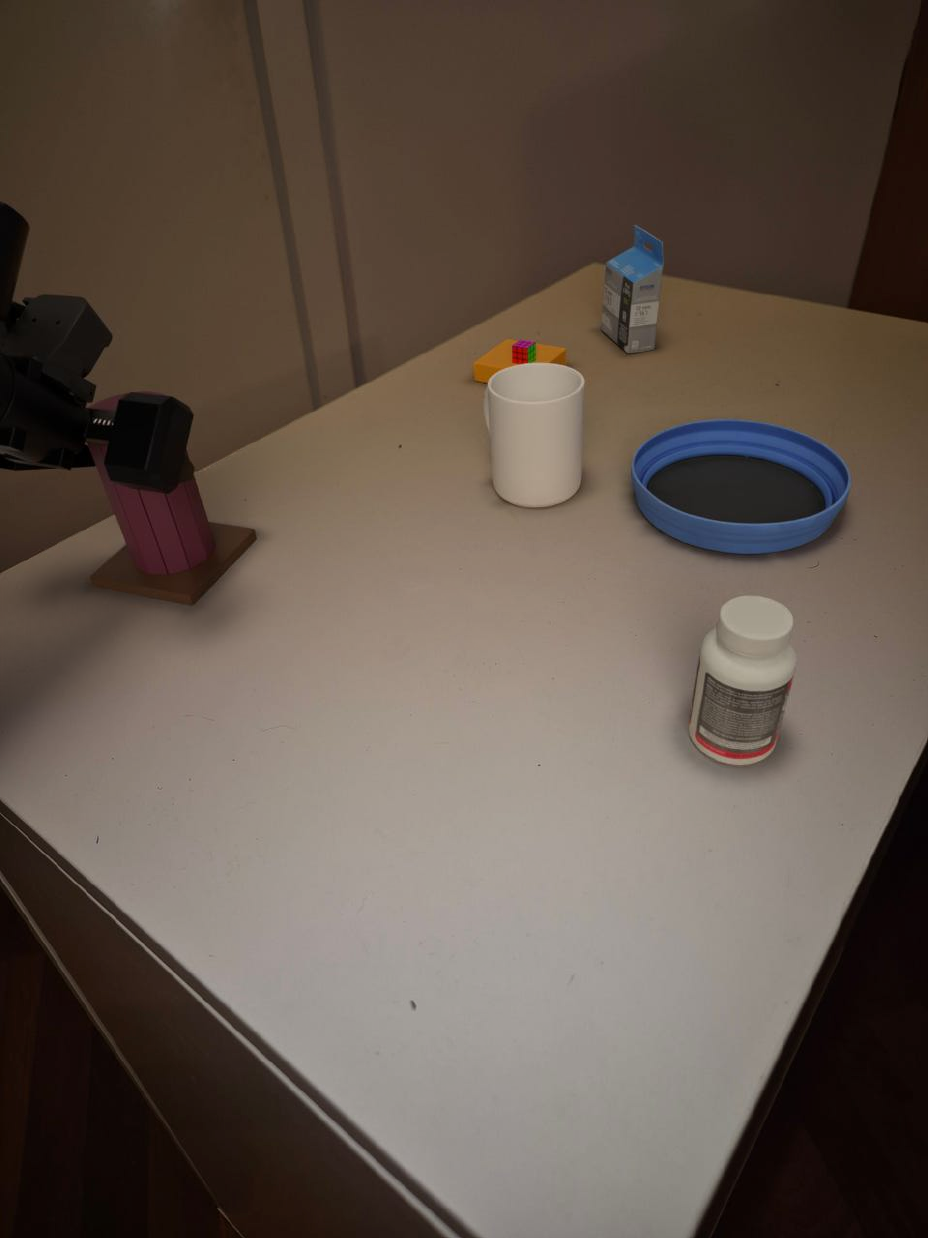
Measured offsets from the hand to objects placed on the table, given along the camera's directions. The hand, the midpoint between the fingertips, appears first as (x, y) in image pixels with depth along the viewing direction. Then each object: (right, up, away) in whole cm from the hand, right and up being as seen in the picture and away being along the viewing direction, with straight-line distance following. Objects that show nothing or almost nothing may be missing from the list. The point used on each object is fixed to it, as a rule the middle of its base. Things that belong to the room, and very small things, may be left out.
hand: (143, 466), depth 66 cm
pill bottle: (+42, -20, -13) cm, 48 cm away
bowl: (+49, -2, +8) cm, 50 cm away
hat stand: (+1, -7, +6) cm, 9 cm away
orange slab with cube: (+32, +17, +32) cm, 48 cm away
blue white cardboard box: (+46, +23, +38) cm, 64 cm away
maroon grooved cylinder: (+1, -6, +5) cm, 8 cm away
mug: (+31, +1, +13) cm, 34 cm away
